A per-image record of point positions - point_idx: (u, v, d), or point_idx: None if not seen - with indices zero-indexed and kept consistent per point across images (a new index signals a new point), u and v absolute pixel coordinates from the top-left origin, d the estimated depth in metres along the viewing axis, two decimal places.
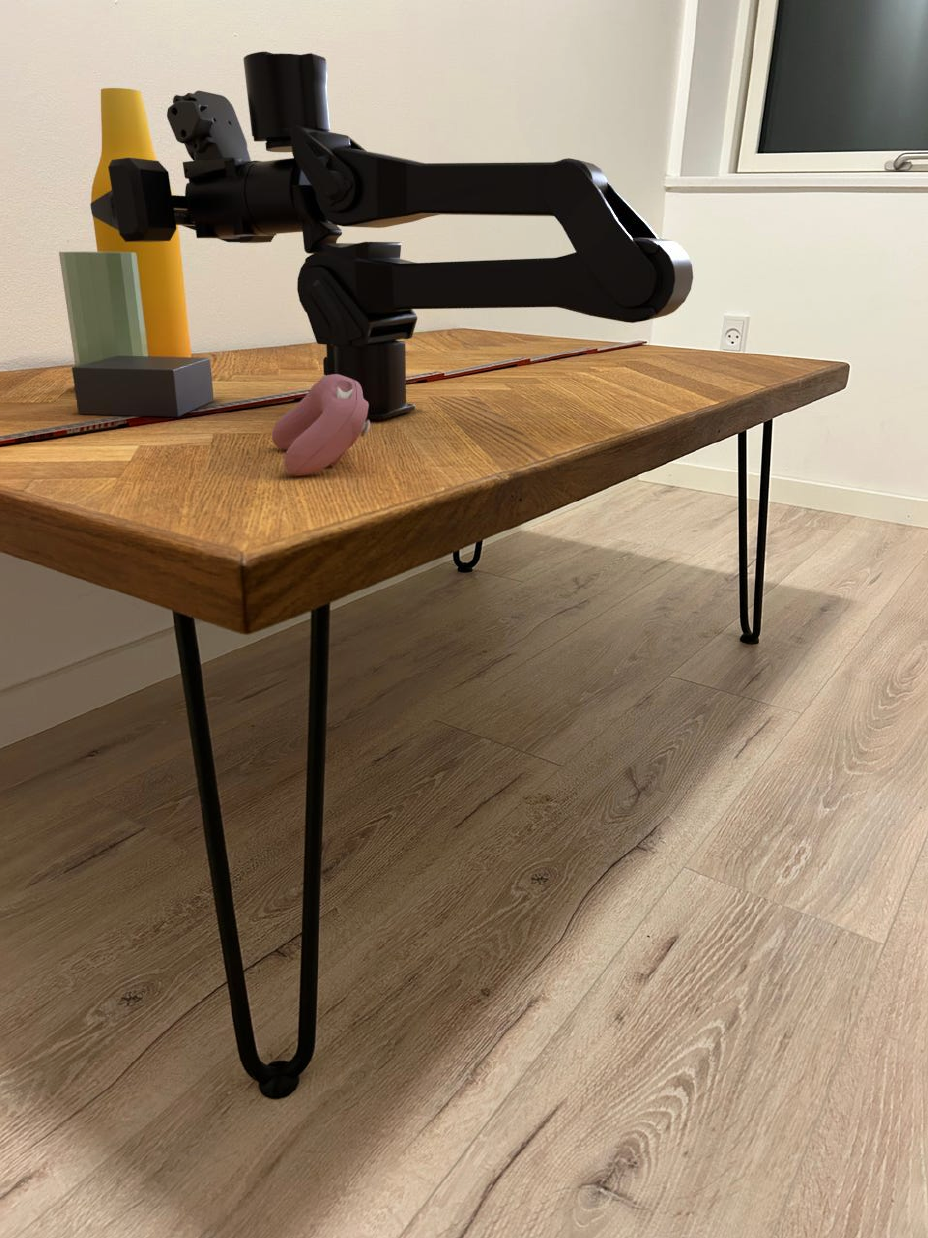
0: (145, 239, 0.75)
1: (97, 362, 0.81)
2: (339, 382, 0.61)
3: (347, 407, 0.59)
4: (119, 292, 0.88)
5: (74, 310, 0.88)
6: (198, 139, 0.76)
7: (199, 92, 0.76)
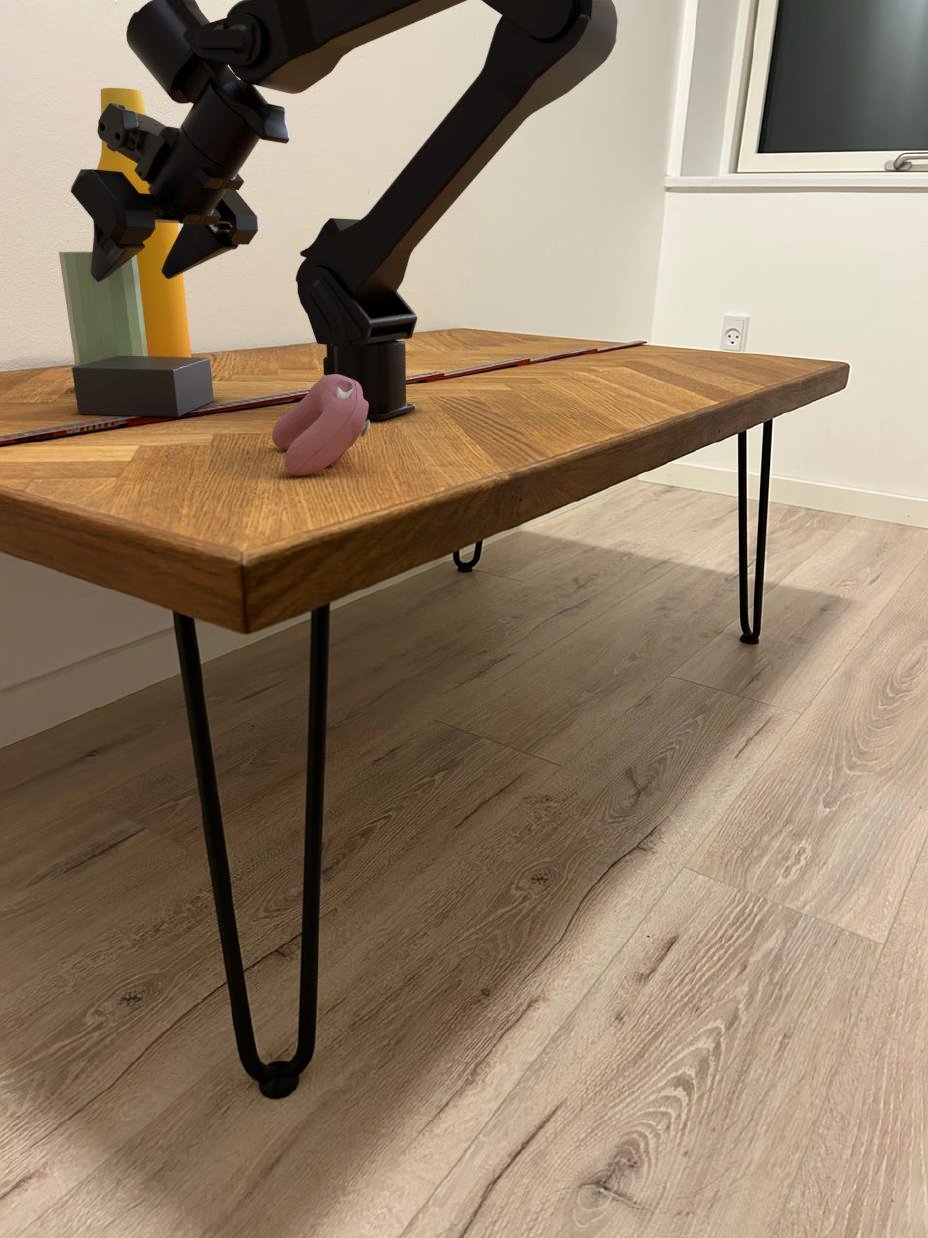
0: (129, 225, 0.76)
1: (97, 362, 0.81)
2: (339, 382, 0.61)
3: (347, 407, 0.59)
4: (119, 292, 0.88)
5: (74, 310, 0.88)
6: (132, 134, 0.78)
7: None
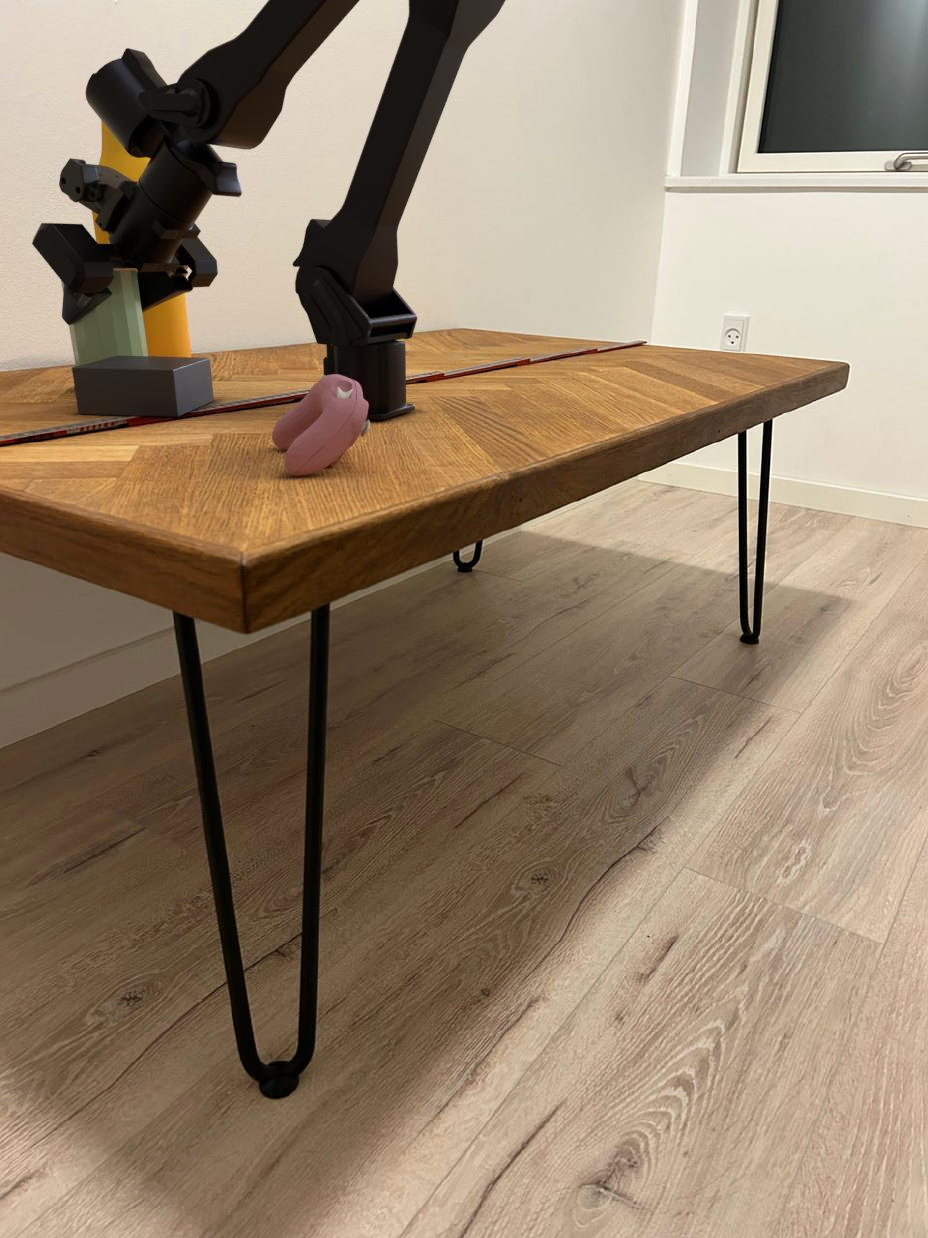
0: (88, 276, 0.79)
1: (97, 362, 0.81)
2: (339, 382, 0.61)
3: (347, 407, 0.59)
4: (117, 291, 0.87)
5: None
6: (92, 187, 0.82)
7: None
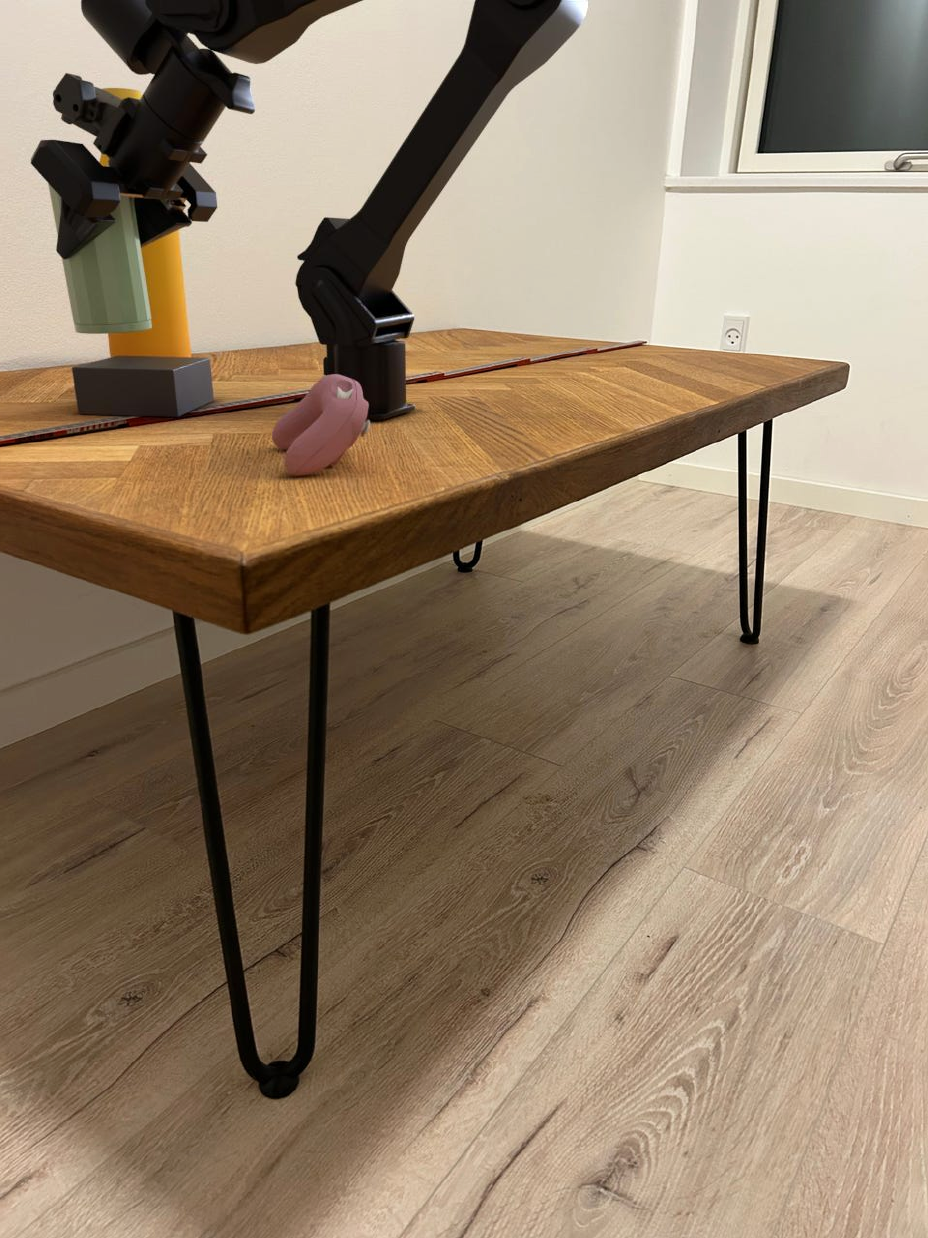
0: (96, 197, 0.74)
1: (97, 362, 0.81)
2: (339, 382, 0.61)
3: (347, 407, 0.59)
4: (116, 222, 0.82)
5: None
6: (90, 105, 0.76)
7: None
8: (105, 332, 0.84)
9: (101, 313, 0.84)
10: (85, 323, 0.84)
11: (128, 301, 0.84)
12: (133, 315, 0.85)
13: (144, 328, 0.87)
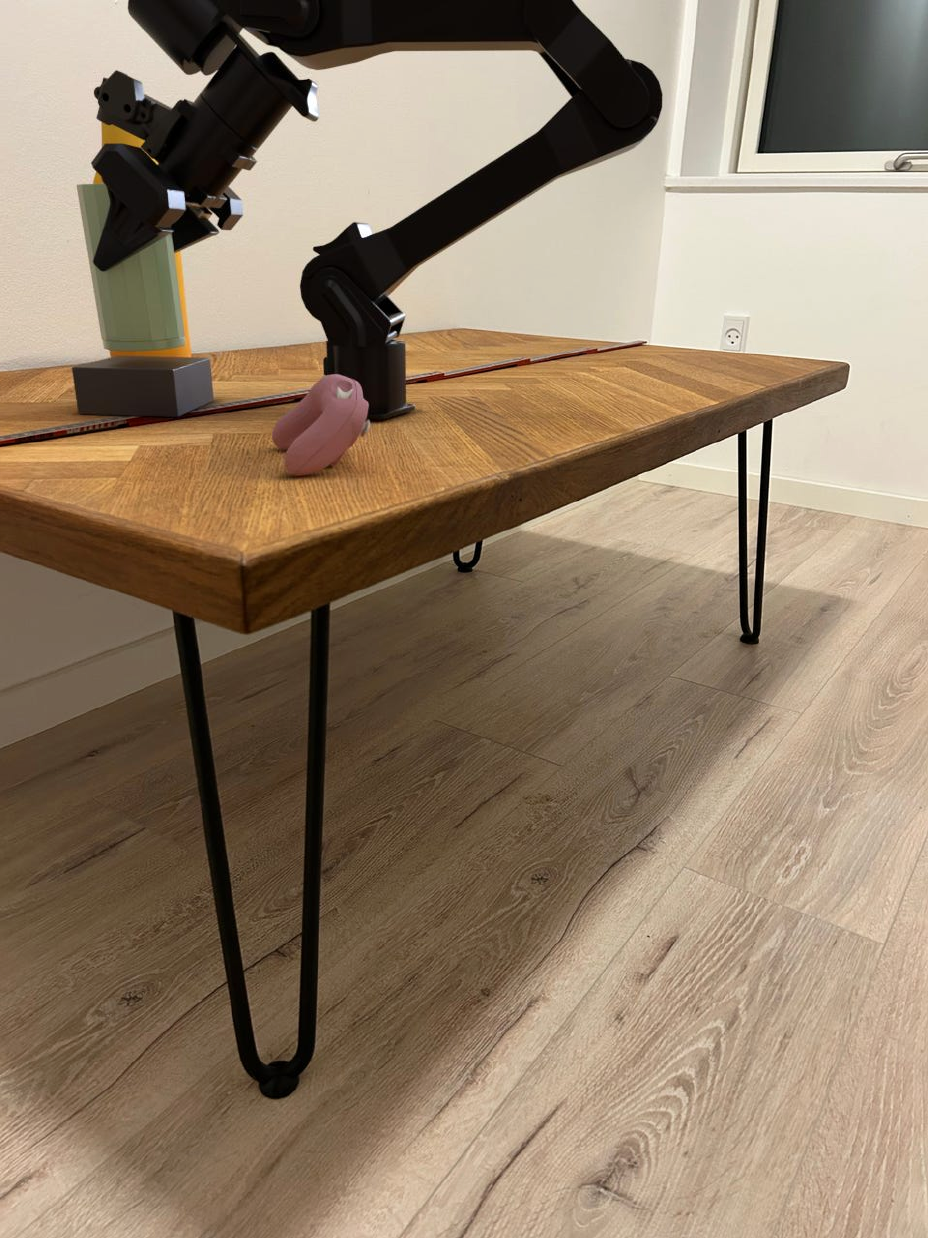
0: (170, 206, 0.69)
1: (97, 362, 0.81)
2: (339, 382, 0.61)
3: (347, 407, 0.59)
4: None
5: None
6: (142, 106, 0.71)
7: None
8: (147, 349, 0.78)
9: (143, 329, 0.78)
10: (124, 340, 0.78)
11: (170, 316, 0.79)
12: (174, 330, 0.80)
13: (183, 344, 0.81)
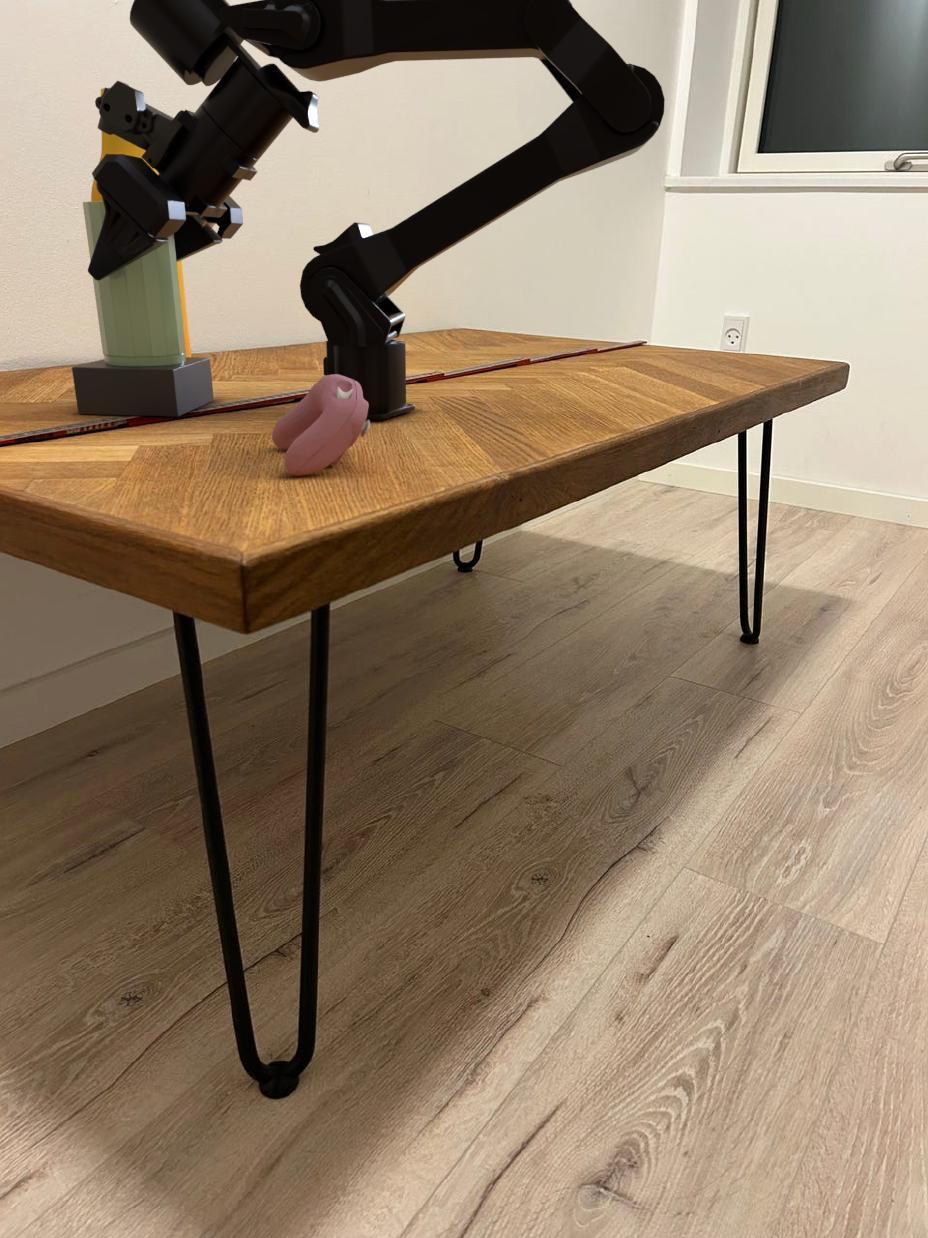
0: (171, 217, 0.69)
1: (97, 362, 0.81)
2: (339, 382, 0.61)
3: (347, 407, 0.59)
4: (164, 249, 0.77)
5: None
6: (143, 116, 0.71)
7: None
8: (148, 365, 0.79)
9: (145, 344, 0.78)
10: (125, 355, 0.78)
11: (172, 332, 0.79)
12: (176, 347, 0.80)
13: (183, 360, 0.82)
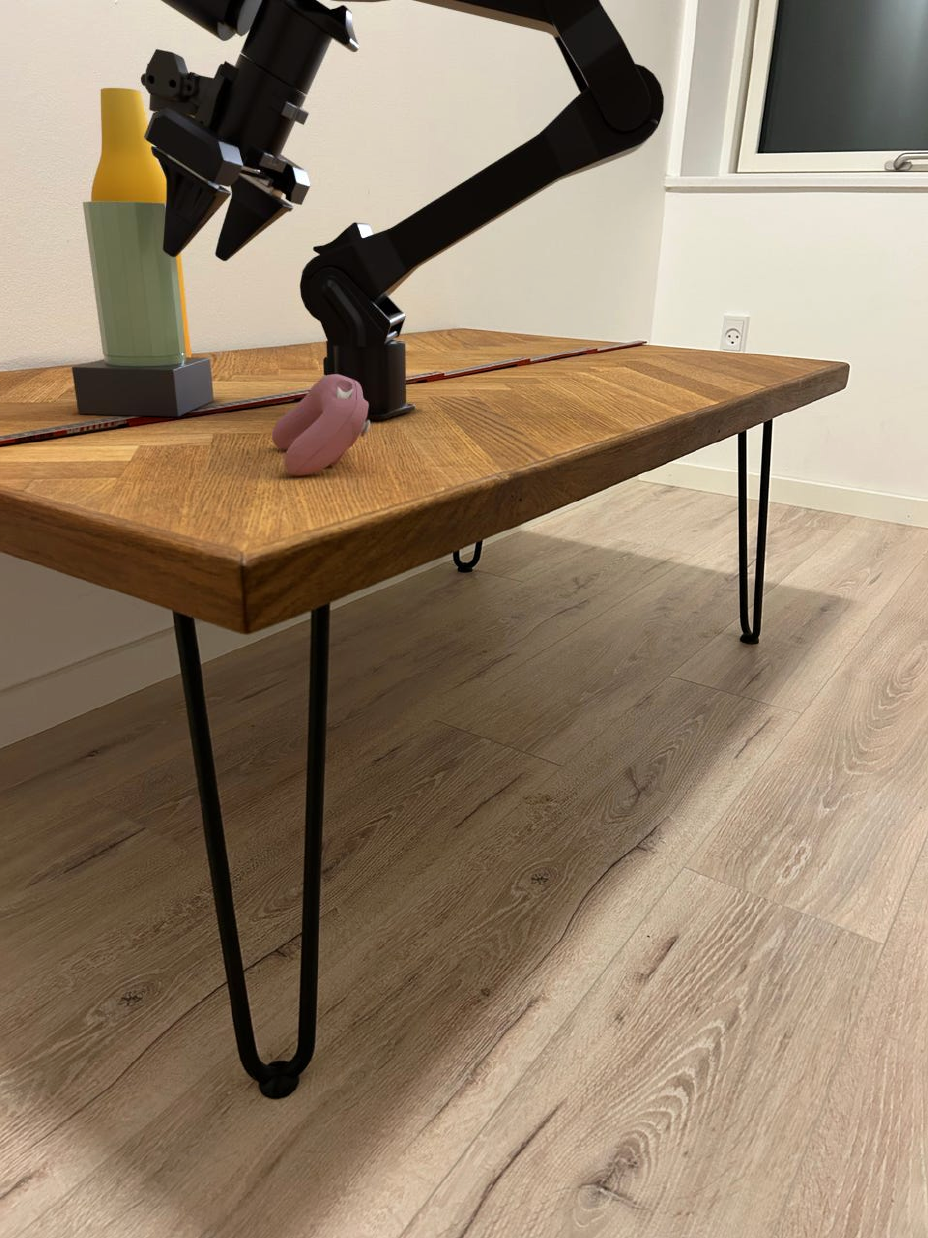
0: (225, 158, 0.67)
1: (97, 362, 0.81)
2: (339, 382, 0.61)
3: (347, 407, 0.59)
4: None
5: (111, 270, 0.76)
6: (186, 79, 0.71)
7: None
8: (148, 365, 0.79)
9: (145, 344, 0.78)
10: (125, 355, 0.78)
11: (172, 332, 0.79)
12: (176, 347, 0.80)
13: (183, 360, 0.82)
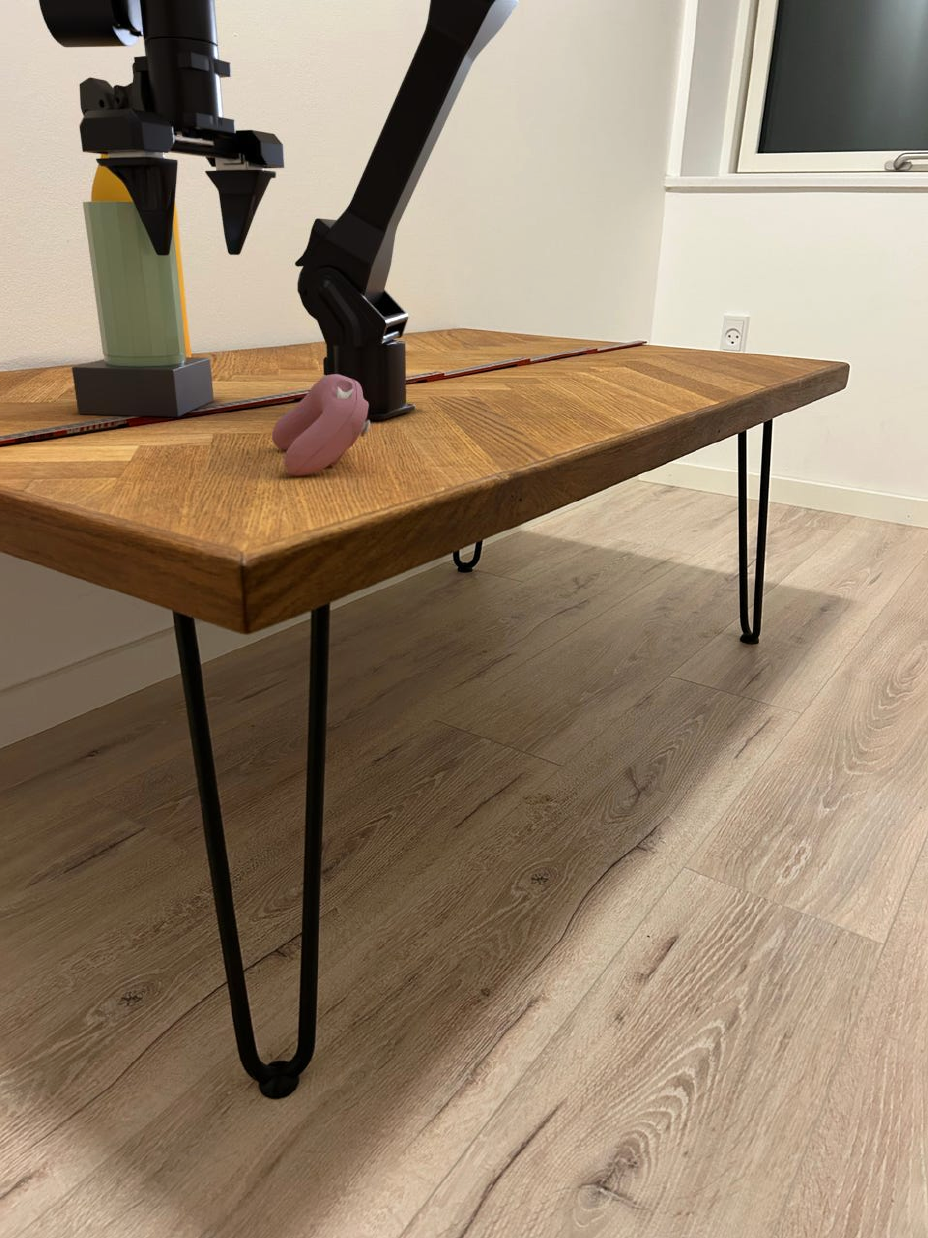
0: (143, 120, 0.67)
1: (97, 362, 0.81)
2: (340, 382, 0.61)
3: (347, 407, 0.59)
4: None
5: (111, 270, 0.76)
6: (112, 94, 0.73)
7: None
8: (148, 365, 0.79)
9: (145, 344, 0.78)
10: (125, 355, 0.78)
11: (172, 332, 0.79)
12: (176, 347, 0.80)
13: (183, 360, 0.82)
